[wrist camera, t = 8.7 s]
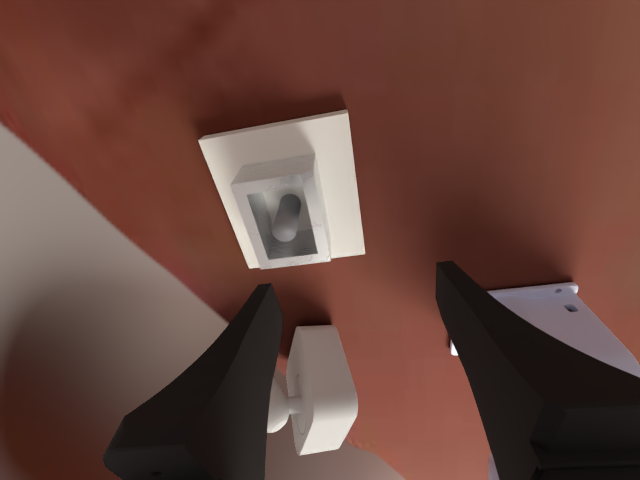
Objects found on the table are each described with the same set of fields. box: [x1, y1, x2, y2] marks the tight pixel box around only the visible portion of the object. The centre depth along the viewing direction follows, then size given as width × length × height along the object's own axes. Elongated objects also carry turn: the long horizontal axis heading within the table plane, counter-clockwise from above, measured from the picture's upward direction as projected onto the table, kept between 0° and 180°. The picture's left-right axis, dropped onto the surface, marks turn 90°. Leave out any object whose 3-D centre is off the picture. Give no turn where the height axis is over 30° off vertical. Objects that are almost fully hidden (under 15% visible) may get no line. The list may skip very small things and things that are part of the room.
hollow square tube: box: [230, 153, 331, 270], centre depth 19 cm, size 6×5×3 cm
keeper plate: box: [198, 109, 365, 269], centre depth 19 cm, size 9×10×4 cm
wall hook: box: [267, 325, 358, 455], centre depth 27 cm, size 8×10×10 cm
